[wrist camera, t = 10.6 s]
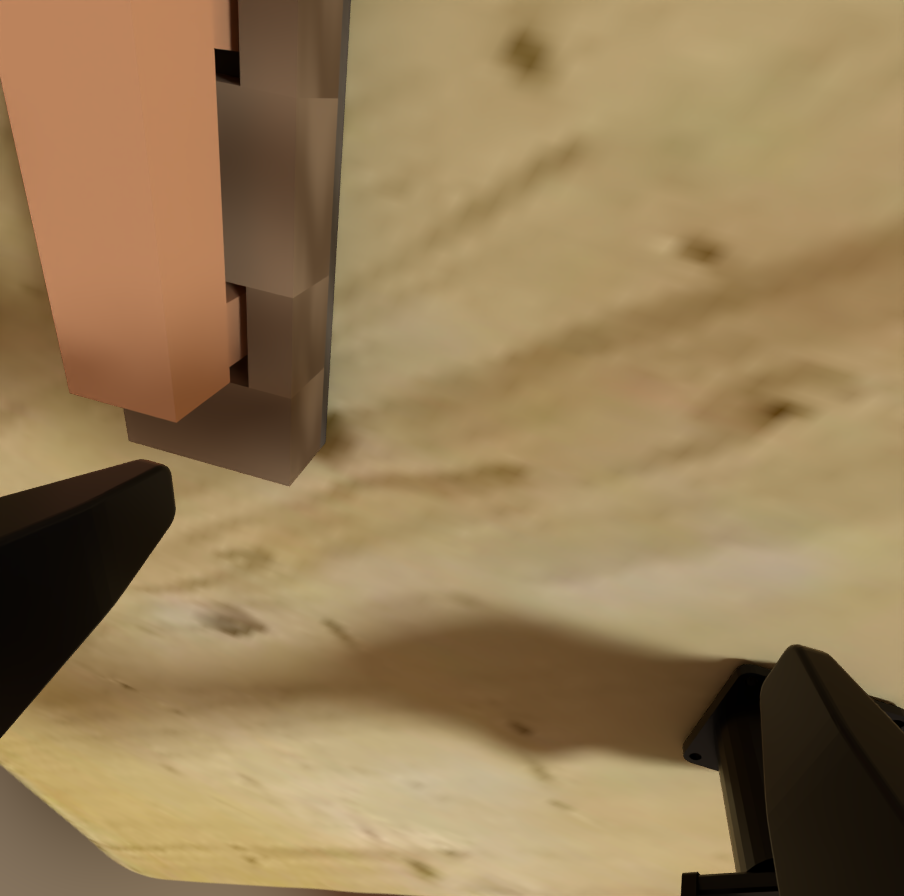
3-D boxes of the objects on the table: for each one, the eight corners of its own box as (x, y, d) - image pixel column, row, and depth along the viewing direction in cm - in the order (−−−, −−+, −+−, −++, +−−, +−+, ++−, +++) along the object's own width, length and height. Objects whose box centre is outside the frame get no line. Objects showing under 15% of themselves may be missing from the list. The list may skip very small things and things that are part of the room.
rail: (325, 442, 22) (289, 486, 20) (181, 403, 23) (129, 440, 20) (365, -259, 12) (304, -351, 10) (111, -296, 13) (-8, -392, 10)
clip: (285, 340, 20) (176, 422, 15) (204, 319, 20) (69, 393, 15) (290, -38, 14) (118, -114, 9) (178, -59, 14) (-49, -144, 9)
